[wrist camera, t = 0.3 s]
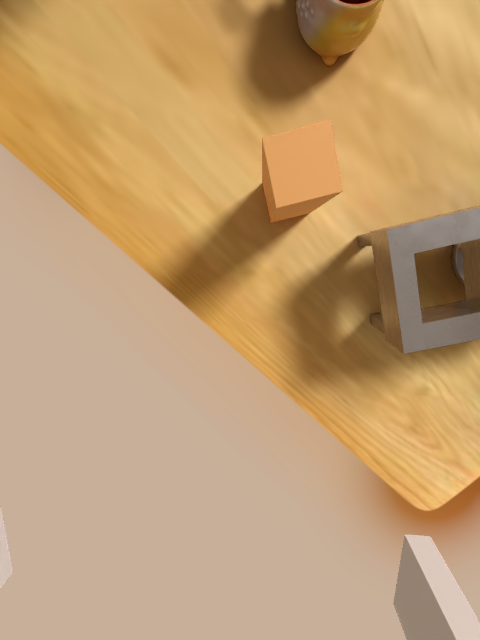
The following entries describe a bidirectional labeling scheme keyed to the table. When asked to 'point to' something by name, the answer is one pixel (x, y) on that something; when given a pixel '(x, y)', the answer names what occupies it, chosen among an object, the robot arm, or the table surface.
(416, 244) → the legged grey stand
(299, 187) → the orange rectangular prism
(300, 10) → the mug
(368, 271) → the table surface
